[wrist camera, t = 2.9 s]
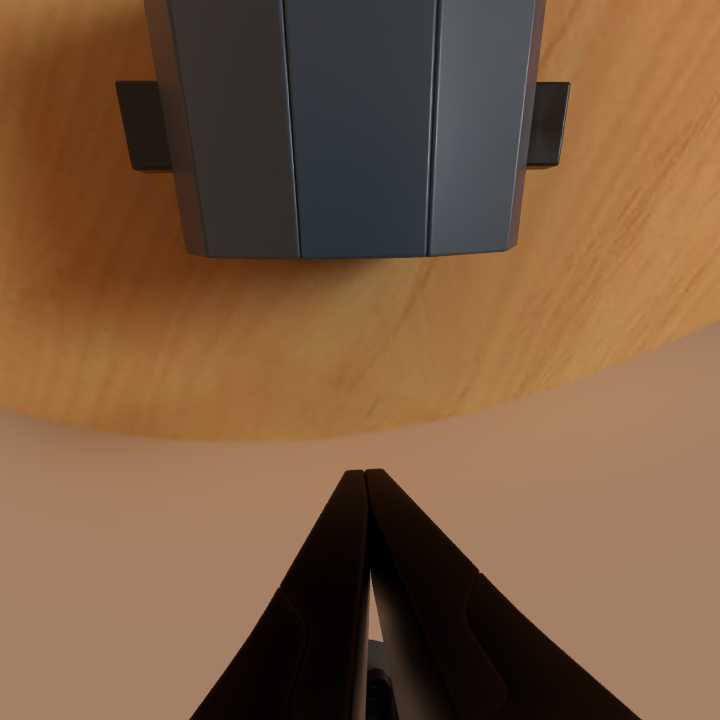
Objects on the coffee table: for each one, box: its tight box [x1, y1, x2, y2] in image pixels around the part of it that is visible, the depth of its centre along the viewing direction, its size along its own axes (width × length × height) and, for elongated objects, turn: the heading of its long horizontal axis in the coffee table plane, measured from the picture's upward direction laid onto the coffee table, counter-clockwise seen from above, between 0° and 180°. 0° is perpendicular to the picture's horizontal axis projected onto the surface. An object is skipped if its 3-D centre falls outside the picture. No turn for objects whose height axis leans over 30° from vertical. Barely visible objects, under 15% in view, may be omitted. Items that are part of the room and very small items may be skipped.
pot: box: [115, 0, 570, 260], centre depth 8 cm, size 7×9×7 cm
